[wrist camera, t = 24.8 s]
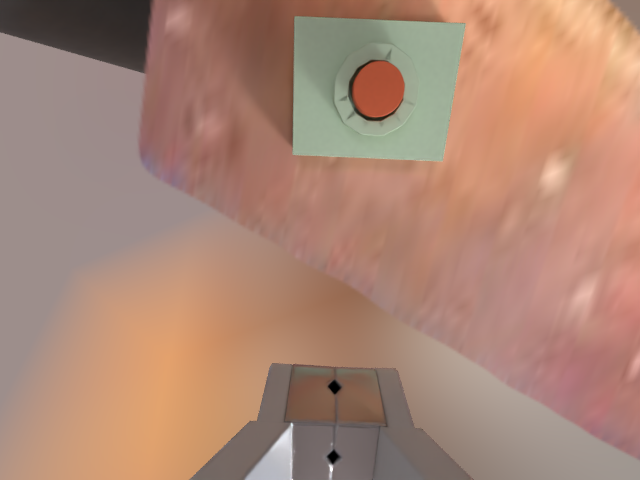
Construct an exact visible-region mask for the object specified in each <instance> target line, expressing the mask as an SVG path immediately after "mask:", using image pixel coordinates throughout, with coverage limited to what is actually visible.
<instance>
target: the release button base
mask: <svg viewBox="0 0 640 480" xmlns="http://www.w3.org/2000/svg"><path fill="white" fill-rule="evenodd" d="M465 25H466V24H465V23H446V22H422V21H398V20H374V19H350V18H327V17H303V16H295V17H294V84H293V155H312V156H334V157H357V158H379V159H401V160H423V161H443V157H444V151H445V145H446V139H447V133H448V127H449V121H450V115H451V109H452V103H453V97H454V91H455V85H456V79H457V73H458V67H459V61H460V55H461V49H462V43H463V37H464V31H465ZM375 61H386V62H389V63H391V64H393V65H394V66H395V67H397V68H398V70H399V71H400V72H401V74H402V76H403V80H404V95H403V98H402V100H401V102H400V104H399V105H398V107H397V108H396V109H395V110H394V111H393V112H391V113H390V114H388V115H385V116H382V117H368V116H365V115H364V114H362V113H361V112H359V110H358V109H357V108H356V107H355V105H354V102H353V99H352V86H353V82H354V80H355V78H356V76H357V75H358V73H359V72H360V70H361V69H362V68H363V67H365V66H366V65H367V64H369V63H371V62H375Z"/></svg>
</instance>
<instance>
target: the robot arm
mask: <svg viewBox="0 0 640 480" xmlns="http://www.w3.org/2000/svg"><path fill="white" fill-rule="evenodd" d="M190 480H473V478H471V477H470V476H469V475H468V474H467V473H466V472H465V471H464V470H463V469H462V468H461V467H460V466H459V465H458V464H457V463H456V462H455V461H454V460H453V459H452V458H451V457H450V456H449V455H448V454H447V453H446V452H445V451H444V450H443V449H442V448H441V447H440V446H439V445H438V444H437V443H436V442H435V441H434V440H433V439H432V438H431V437H430V436H429V435H428V434H427V433H426V432H425V431H424V430H423V429H420V428H415V427H414V424H413V421H412V417H411V414H410V410H409V407H408V404H407V400H406V397H405V394H404V390H403V387H402V383H401V380H400V377H399V373H398V371H397V370H396V369H395V368H375V369H374V368H351V367H329V366H314V365H298V364H293V365H292V364H278V363H272V364H271V366H270V368H269V373H268V377H267V381H266V385H265V390H264V394H263V398H262V402H261V406H260V411H259V415H258V419H257V421H250V422H249V423H247V425H245V426H244V427H243V428H242V429H241V430H240V431H239V432H238V433H237V434H236V435H235V436H234V437H233V438H232V439H231V440H230V441H229V442H228V443H227V444H226V445H225V446H224V447H223V448H222V449H221V450H220V451H219V452H218V453H217V454H215V456H213V457H212V458H211V459H210V460H209V461H208V462H207V463H206V464H205V465H204V466H203V467H202V468H201V469H200V470H199V471H198V472H197V473H196V474H195V475H194V476H193V477H192V478H191V479H190Z"/></svg>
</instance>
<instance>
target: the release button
mask: <svg viewBox="0 0 640 480" xmlns="http://www.w3.org/2000/svg"><path fill="white" fill-rule="evenodd" d="M403 95H404V80H403V76H402V74H401V72H400V71H399V70H398V68H397V67H395V66H394V65H393V64H391V63H389V62H386V61H375V62H371V63H369V64H367V65H366V66H365V67H363V68H362V69H361V70H360V72H359V73H358V75H357V76H356V78H355V80H354V82H353V86H352V99H353V102H354V105H355V107H356V108H357V109H358V110H359V112H361V113H362V114H364V115H365V116H368V117H382V116H385V115H388V114H390V113H391V112H393V111H394V110H395V109H396V108H397V107H398V105H399V104H400V102H401V100H402V98H403Z"/></svg>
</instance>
